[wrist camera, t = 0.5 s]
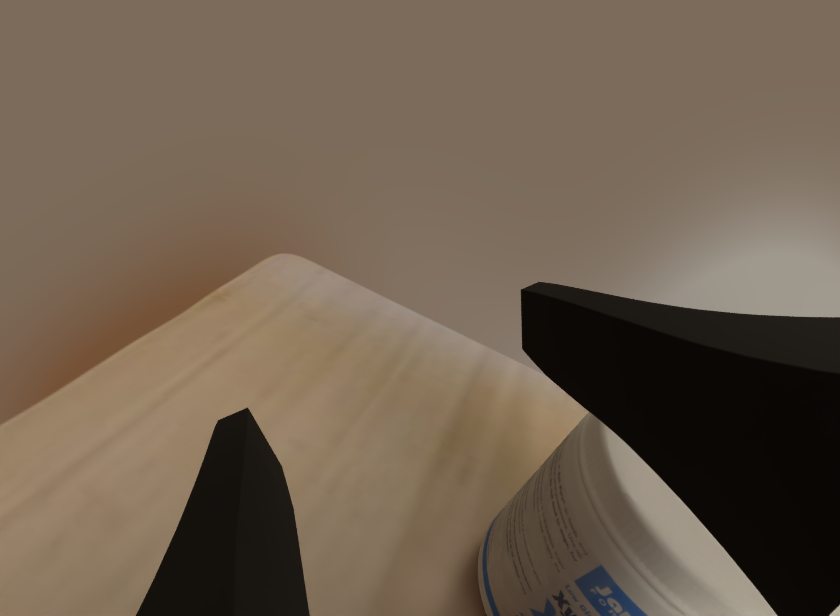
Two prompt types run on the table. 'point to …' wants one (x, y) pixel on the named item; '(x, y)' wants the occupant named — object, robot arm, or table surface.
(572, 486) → the supplement tub
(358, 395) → the table surface
